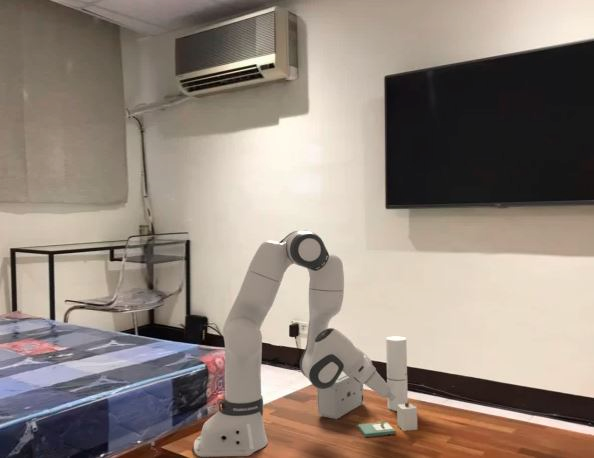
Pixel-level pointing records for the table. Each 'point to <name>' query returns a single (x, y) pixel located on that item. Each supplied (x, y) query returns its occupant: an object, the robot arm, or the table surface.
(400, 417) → the block
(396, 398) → the cylindrical container
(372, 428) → the header board
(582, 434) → the table surface
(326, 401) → the stereo radio cassette player
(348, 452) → the table surface
